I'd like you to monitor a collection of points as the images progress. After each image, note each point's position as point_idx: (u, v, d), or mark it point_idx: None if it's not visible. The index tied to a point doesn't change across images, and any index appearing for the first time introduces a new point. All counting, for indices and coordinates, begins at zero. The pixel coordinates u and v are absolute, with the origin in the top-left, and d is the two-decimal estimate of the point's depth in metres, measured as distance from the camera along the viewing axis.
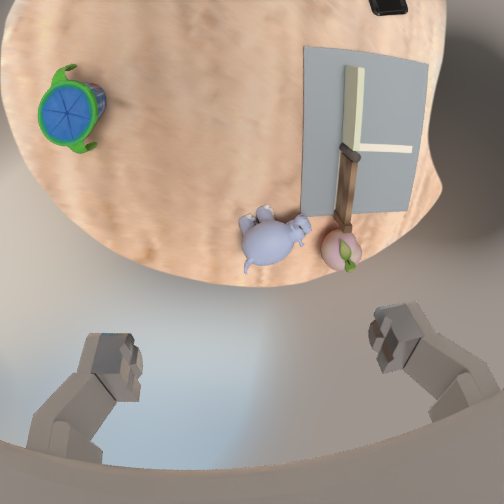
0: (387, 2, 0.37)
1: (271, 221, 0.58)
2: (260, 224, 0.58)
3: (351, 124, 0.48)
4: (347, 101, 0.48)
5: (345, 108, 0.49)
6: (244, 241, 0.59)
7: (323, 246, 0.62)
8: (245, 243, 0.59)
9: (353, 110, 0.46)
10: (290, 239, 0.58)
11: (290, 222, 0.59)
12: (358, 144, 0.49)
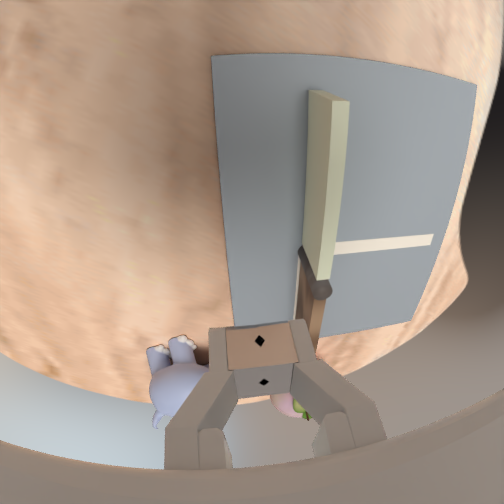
0: None
1: (184, 370, 0.35)
2: (168, 373, 0.35)
3: (316, 227, 0.25)
4: (311, 173, 0.24)
5: (307, 184, 0.26)
6: (149, 390, 0.36)
7: None
8: (150, 394, 0.35)
9: (321, 201, 0.23)
10: None
11: None
12: (328, 269, 0.25)
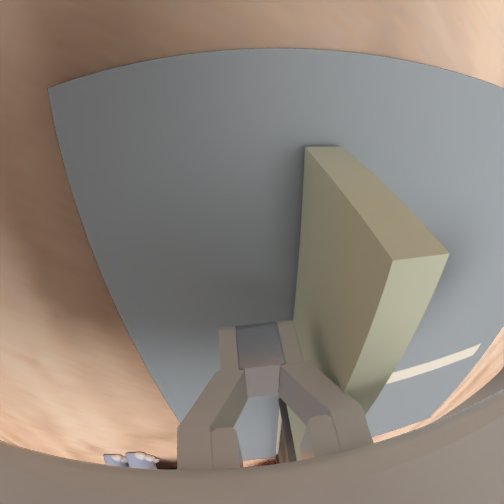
0: None
1: None
2: None
3: (305, 429, 0.12)
4: (302, 337, 0.12)
5: None
6: None
7: None
8: None
9: None
10: None
11: None
12: None
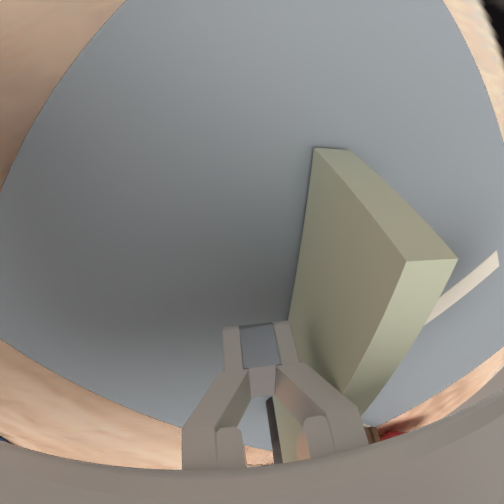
0: None
1: None
2: None
3: (294, 431, 0.12)
4: (297, 338, 0.11)
5: None
6: None
7: None
8: None
9: None
10: None
11: None
12: None
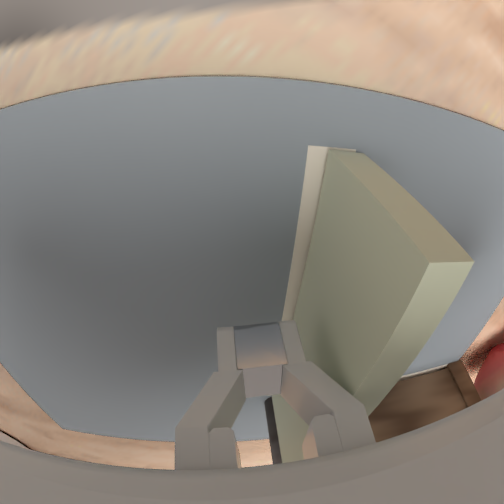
0: None
1: None
2: None
3: (297, 431, 0.12)
4: (303, 338, 0.12)
5: None
6: None
7: None
8: None
9: None
10: None
11: None
12: None
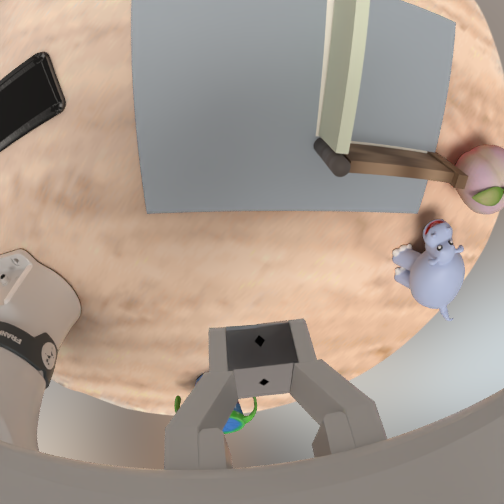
0: (36, 91, 0.23)
1: (413, 271, 0.37)
2: (410, 283, 0.39)
3: (338, 101, 0.24)
4: (333, 61, 0.24)
5: (329, 74, 0.25)
6: None
7: None
8: None
9: (343, 74, 0.22)
10: (446, 267, 0.34)
11: (427, 248, 0.35)
12: (347, 141, 0.25)
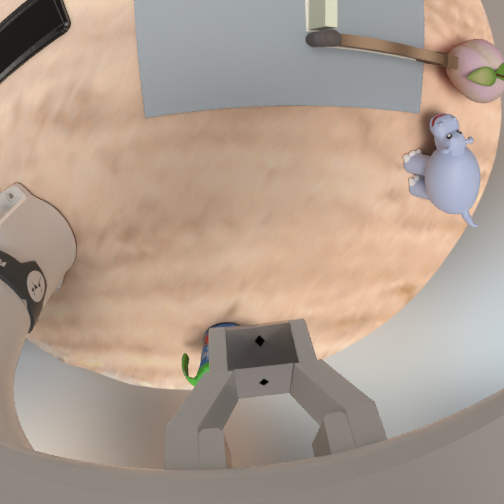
0: (44, 17, 0.21)
1: (428, 169, 0.34)
2: (427, 185, 0.35)
3: None
4: None
5: None
6: (440, 209, 0.36)
7: (468, 98, 0.27)
8: (443, 210, 0.36)
9: None
10: (460, 158, 0.30)
11: (437, 143, 0.32)
12: (334, 16, 0.21)
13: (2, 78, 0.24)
